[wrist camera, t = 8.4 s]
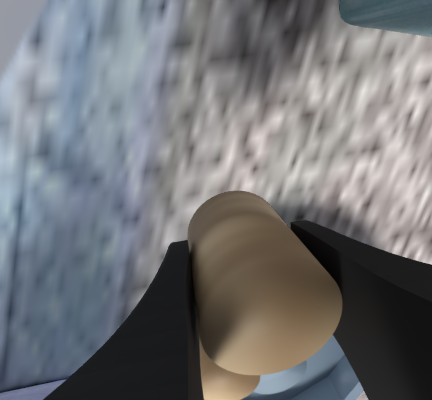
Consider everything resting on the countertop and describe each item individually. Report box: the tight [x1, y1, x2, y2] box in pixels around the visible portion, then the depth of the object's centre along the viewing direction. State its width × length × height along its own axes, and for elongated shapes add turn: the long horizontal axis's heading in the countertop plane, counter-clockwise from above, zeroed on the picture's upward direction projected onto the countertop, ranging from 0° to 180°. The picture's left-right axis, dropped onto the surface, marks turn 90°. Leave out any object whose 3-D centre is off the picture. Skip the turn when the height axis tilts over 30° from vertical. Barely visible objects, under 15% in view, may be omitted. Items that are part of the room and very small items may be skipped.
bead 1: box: [199, 333, 260, 400], centre depth 20 cm, size 4×4×5 cm
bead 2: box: [187, 191, 342, 375], centre depth 10 cm, size 4×4×5 cm
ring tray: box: [204, 335, 364, 400], centre depth 23 cm, size 20×20×4 cm
